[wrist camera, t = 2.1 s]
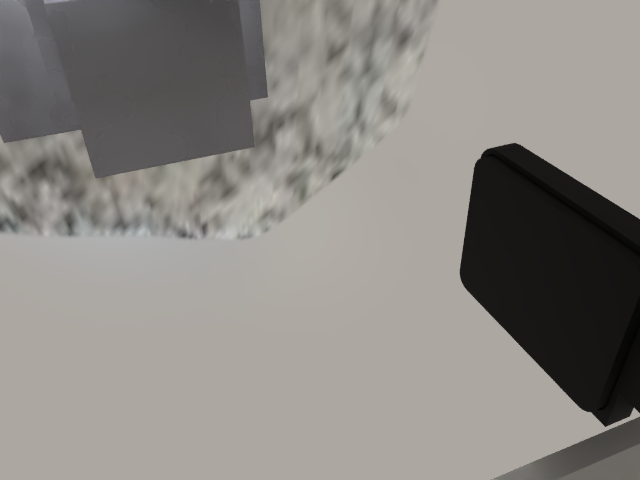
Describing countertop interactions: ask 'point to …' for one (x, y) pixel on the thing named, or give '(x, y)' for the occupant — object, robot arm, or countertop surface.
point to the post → (154, 79)
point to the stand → (49, 79)
